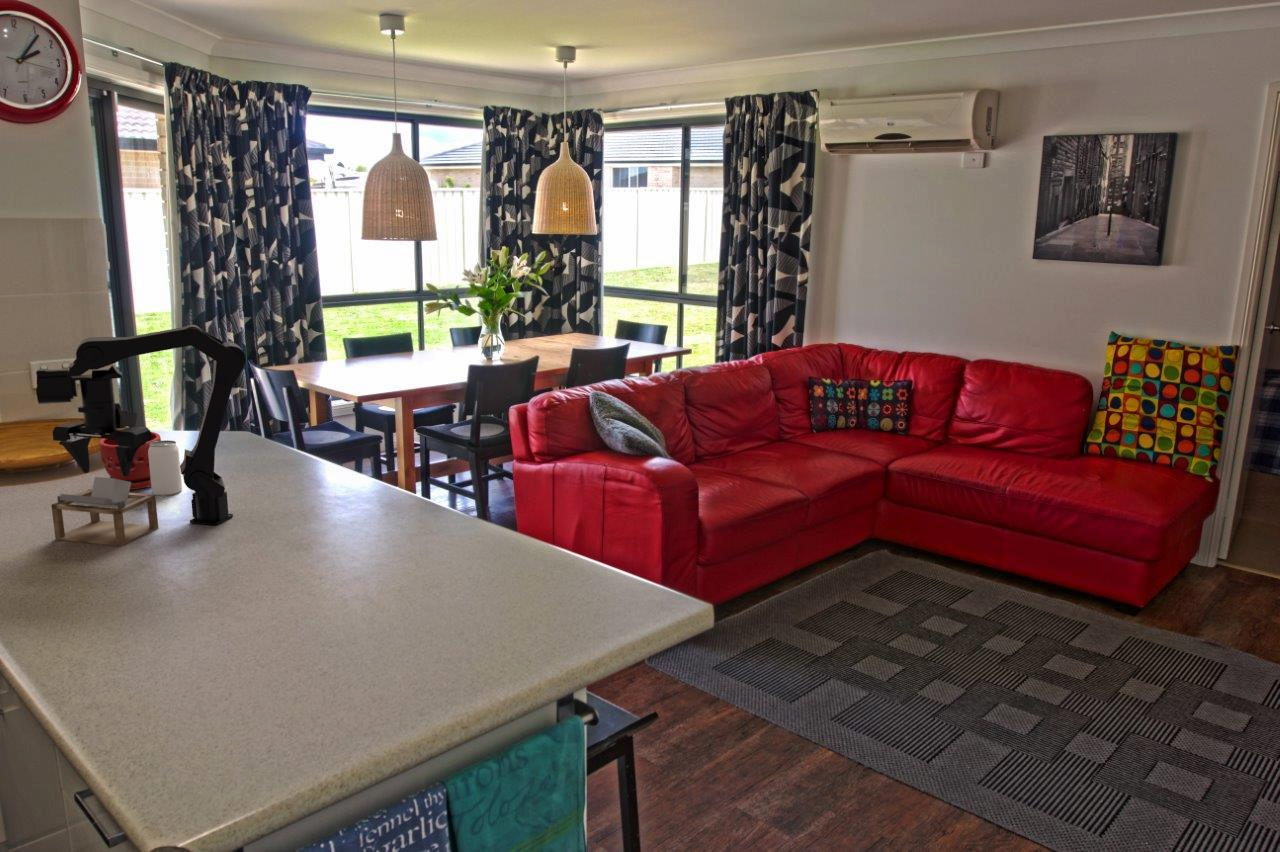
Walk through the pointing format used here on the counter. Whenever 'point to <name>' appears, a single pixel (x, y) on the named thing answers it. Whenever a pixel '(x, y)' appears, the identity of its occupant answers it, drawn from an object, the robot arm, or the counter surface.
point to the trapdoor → (92, 501)
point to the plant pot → (140, 464)
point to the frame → (104, 530)
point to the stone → (111, 489)
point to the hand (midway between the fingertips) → (106, 474)
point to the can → (164, 468)
